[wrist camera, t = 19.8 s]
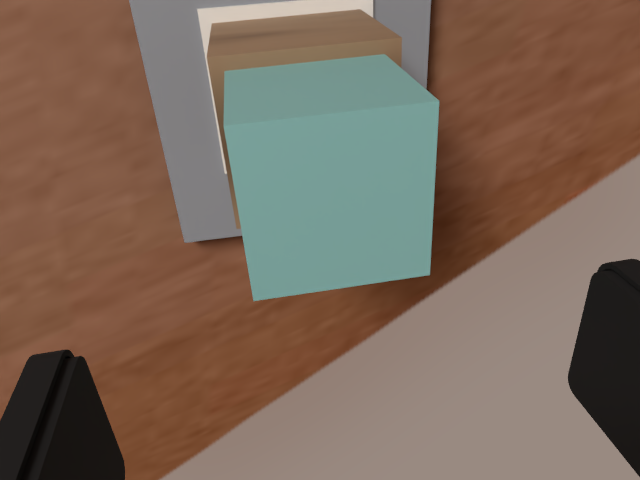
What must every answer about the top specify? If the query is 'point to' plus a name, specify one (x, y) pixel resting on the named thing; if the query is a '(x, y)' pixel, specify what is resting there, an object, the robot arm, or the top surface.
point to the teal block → (331, 173)
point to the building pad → (197, 96)
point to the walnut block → (291, 50)
